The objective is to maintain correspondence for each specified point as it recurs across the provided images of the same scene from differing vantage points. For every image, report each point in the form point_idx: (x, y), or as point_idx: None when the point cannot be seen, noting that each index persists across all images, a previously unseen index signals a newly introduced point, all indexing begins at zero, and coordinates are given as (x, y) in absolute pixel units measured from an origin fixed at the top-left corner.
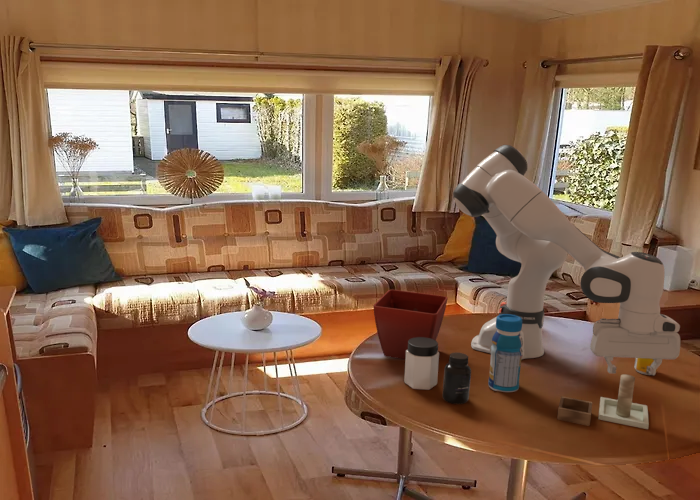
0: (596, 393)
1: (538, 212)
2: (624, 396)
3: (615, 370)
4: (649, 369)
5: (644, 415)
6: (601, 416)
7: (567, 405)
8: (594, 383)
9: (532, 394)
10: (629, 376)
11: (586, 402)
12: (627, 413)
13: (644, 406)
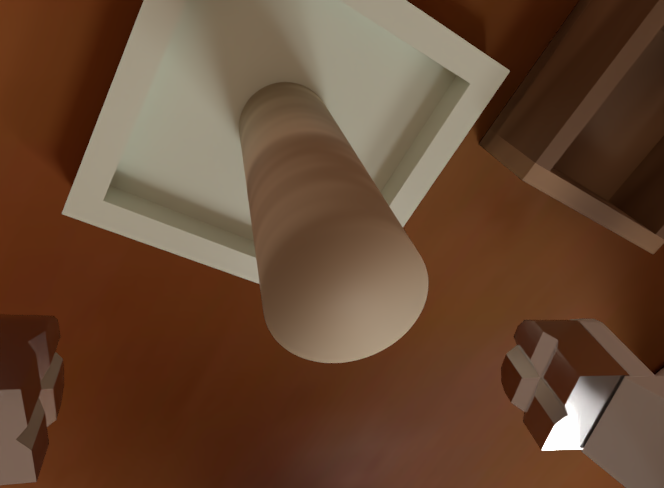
0: (291, 387)
1: None
2: (348, 150)
3: (562, 342)
4: (29, 386)
5: (158, 47)
6: (491, 60)
7: (608, 202)
8: (245, 476)
9: None
10: (316, 316)
11: (560, 178)
12: (283, 91)
13: (90, 201)
